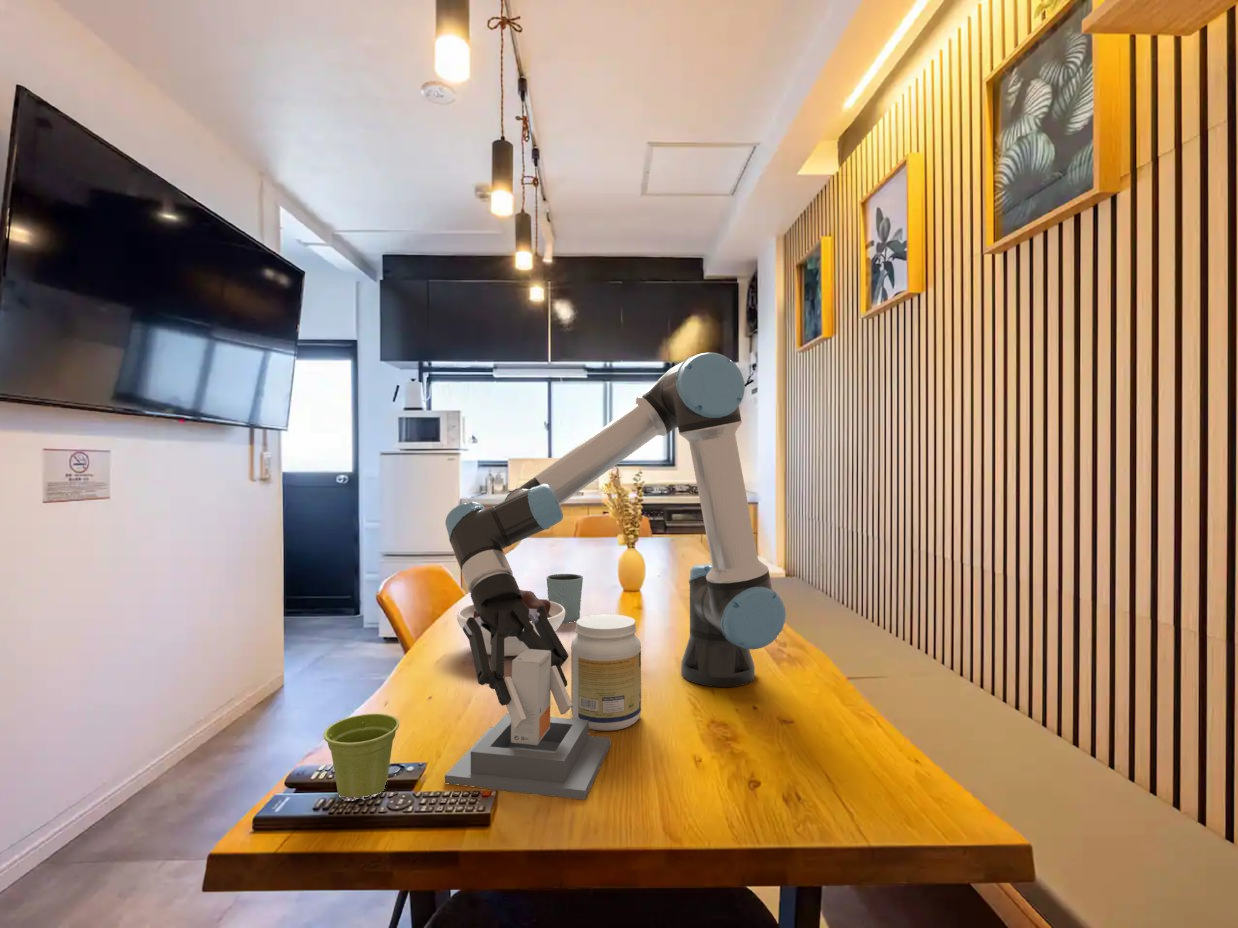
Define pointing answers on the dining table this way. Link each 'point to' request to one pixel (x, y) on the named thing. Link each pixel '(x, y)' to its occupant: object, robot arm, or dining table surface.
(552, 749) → the slate stand
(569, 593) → the teal cup
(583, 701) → the supplement tub
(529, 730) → the skincare box
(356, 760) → the plant pot
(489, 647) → the bowl of chocolate pudding
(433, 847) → the dining table surface
